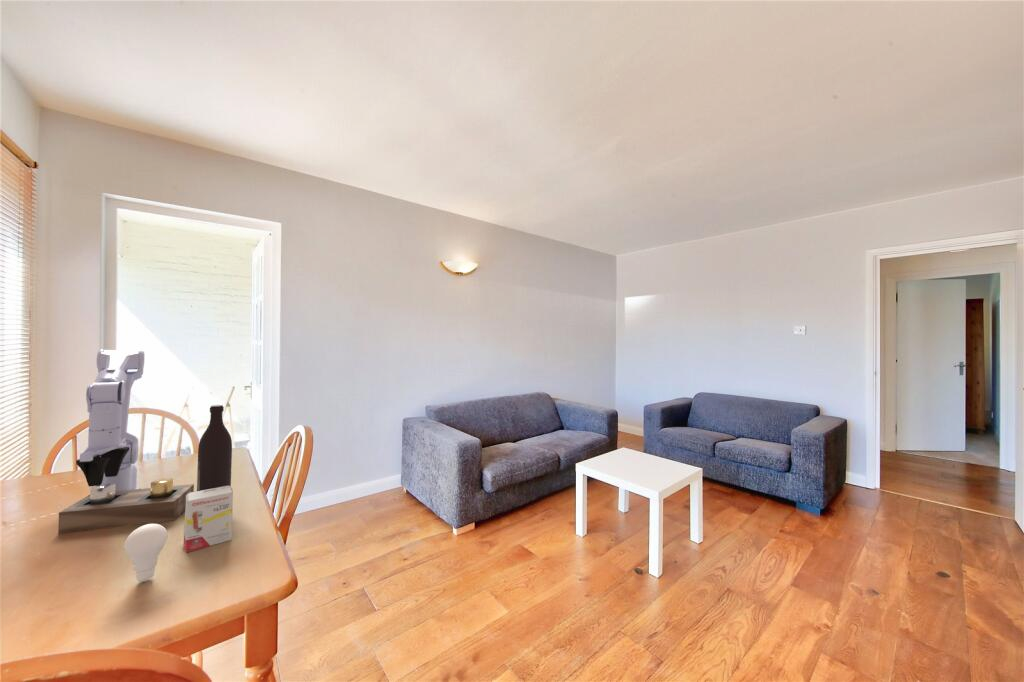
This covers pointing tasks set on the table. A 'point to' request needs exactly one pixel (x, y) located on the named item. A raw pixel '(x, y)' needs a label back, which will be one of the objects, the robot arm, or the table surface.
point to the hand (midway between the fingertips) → (103, 480)
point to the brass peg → (161, 488)
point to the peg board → (124, 510)
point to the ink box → (208, 517)
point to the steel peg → (102, 493)
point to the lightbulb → (145, 549)
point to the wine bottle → (214, 453)
